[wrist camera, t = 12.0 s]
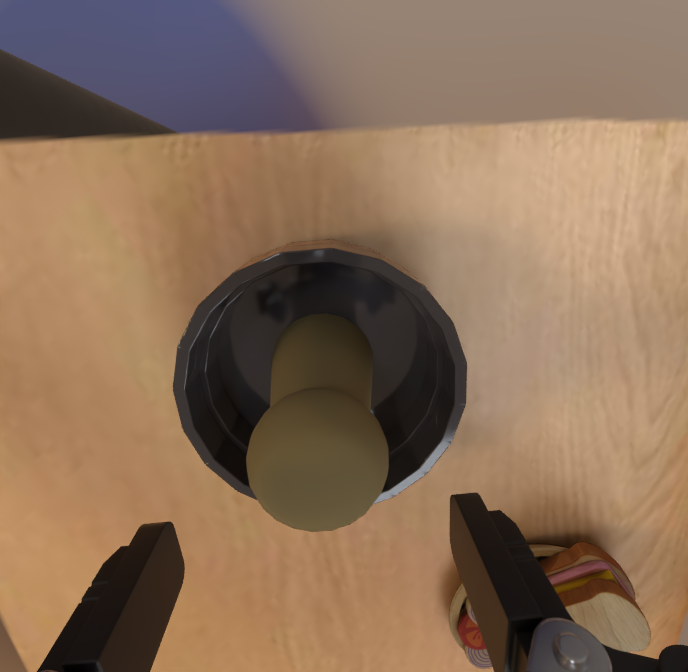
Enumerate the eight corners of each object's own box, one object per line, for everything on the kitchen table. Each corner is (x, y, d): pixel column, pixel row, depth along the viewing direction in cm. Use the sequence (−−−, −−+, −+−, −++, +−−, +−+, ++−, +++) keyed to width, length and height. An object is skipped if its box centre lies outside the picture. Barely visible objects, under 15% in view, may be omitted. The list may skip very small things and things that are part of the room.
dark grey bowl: (228, 466, 26) (205, 524, 21) (182, 250, 22) (140, 264, 17) (439, 447, 26) (464, 501, 21) (439, 228, 22) (470, 235, 17)
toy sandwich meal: (418, 576, 30) (434, 642, 25) (587, 503, 28) (636, 560, 24) (480, 670, 34) (504, 742, 29) (633, 610, 32) (683, 677, 27)
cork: (317, 291, 22) (305, 371, 11) (394, 357, 23) (446, 481, 13) (250, 367, 23) (186, 500, 13) (327, 424, 25) (326, 586, 14)
